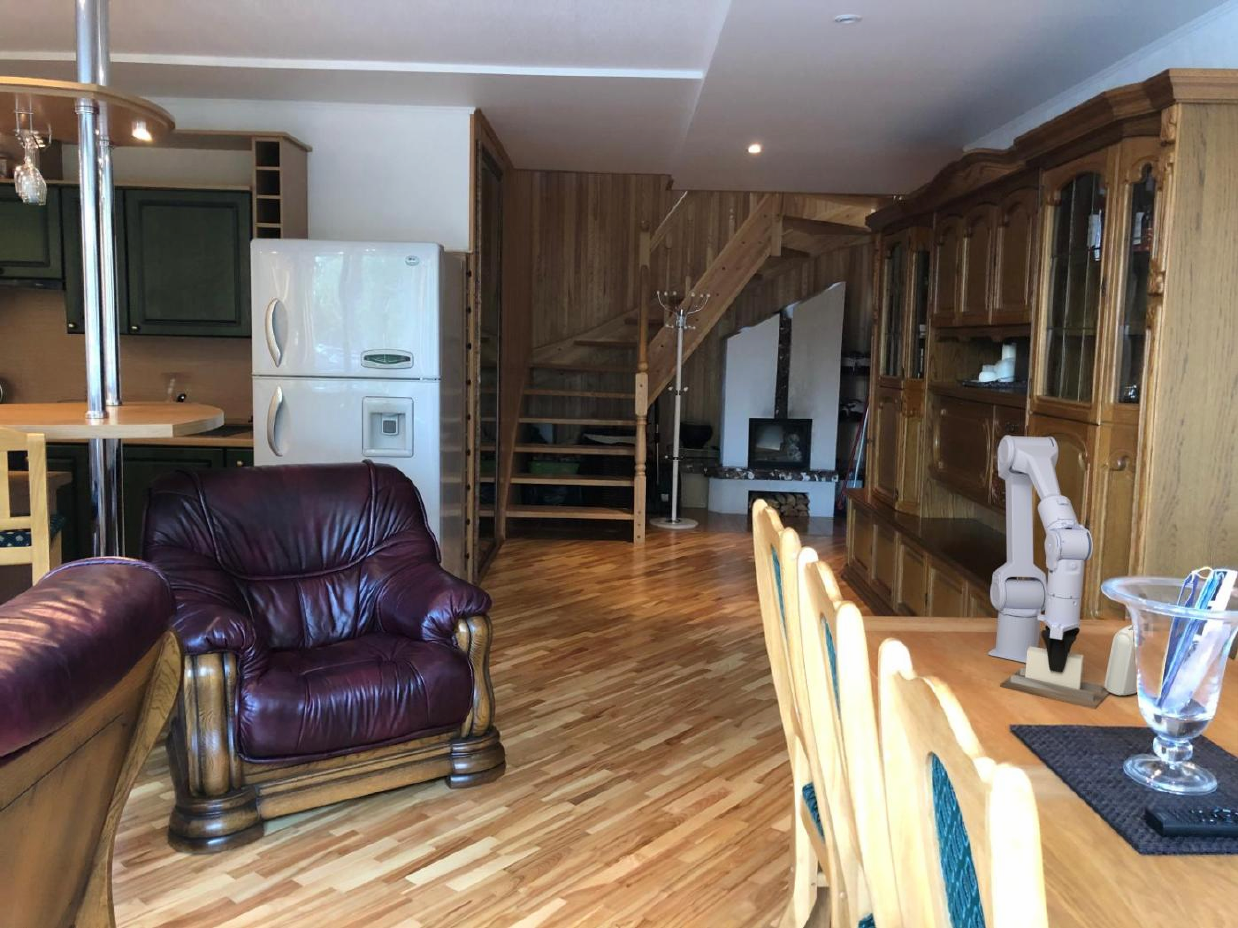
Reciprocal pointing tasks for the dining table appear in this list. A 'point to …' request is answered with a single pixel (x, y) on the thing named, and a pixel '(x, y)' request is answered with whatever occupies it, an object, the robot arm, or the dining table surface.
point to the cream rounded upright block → (1121, 664)
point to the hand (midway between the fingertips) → (1057, 668)
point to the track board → (1058, 690)
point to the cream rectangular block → (1040, 671)
